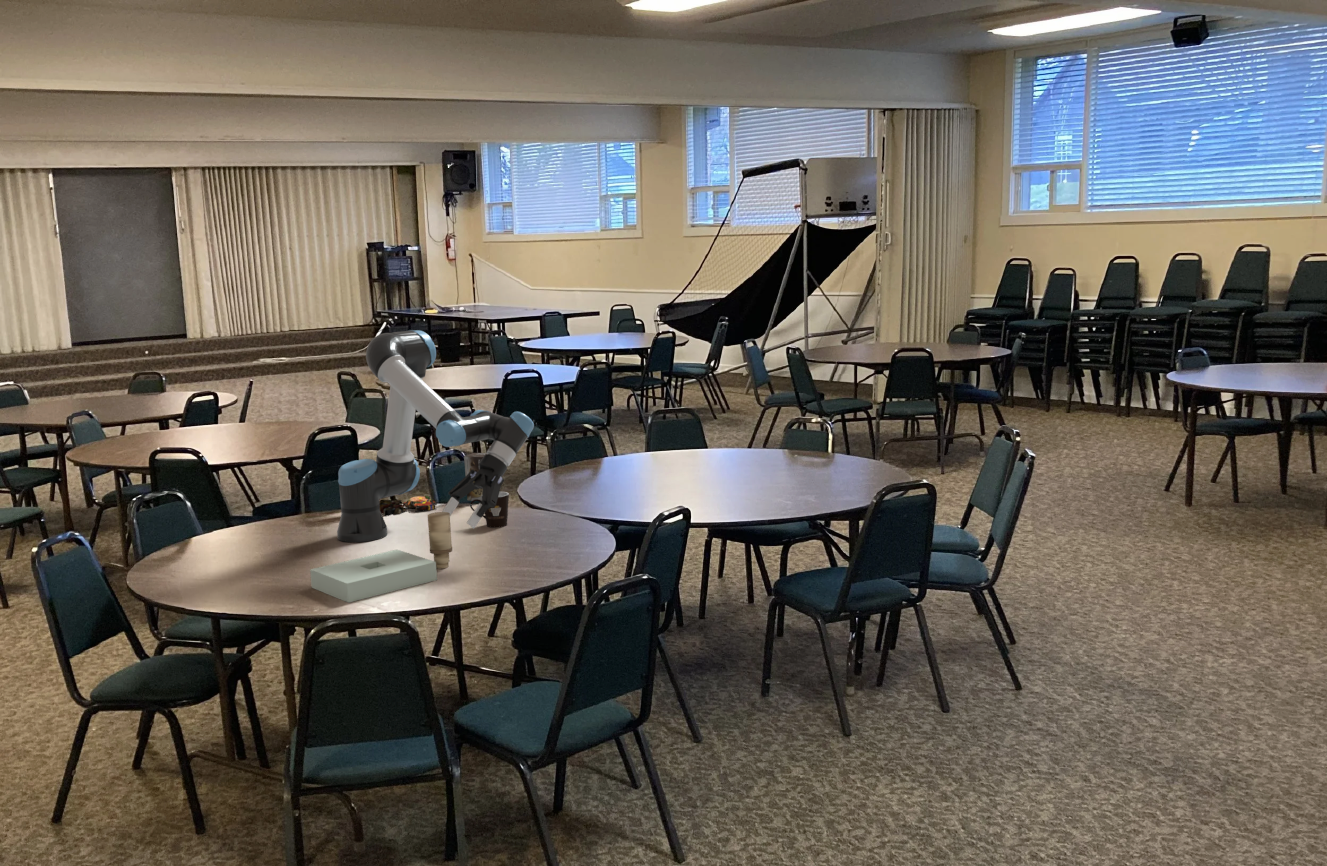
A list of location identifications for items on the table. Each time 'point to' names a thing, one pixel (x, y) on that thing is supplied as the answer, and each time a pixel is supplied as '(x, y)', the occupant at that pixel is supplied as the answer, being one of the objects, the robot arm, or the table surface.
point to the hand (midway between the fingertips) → (456, 522)
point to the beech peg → (440, 538)
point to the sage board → (373, 575)
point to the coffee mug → (497, 511)
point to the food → (415, 502)
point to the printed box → (473, 463)
